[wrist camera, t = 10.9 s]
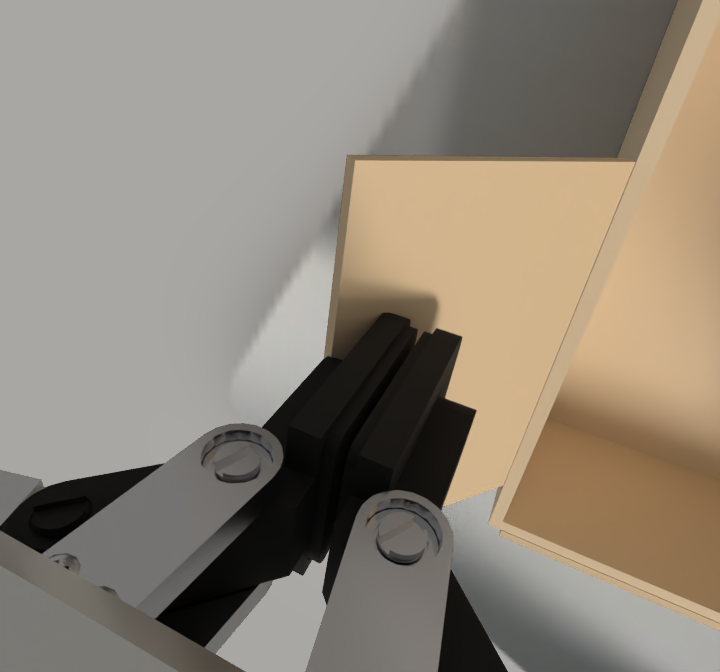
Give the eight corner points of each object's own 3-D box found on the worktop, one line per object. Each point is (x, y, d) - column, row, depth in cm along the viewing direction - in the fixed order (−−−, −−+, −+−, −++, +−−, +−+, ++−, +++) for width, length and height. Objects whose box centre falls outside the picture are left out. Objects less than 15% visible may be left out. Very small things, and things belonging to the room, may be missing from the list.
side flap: (503, 485, 16) (306, 554, 13) (497, 478, 16) (303, 545, 14) (635, 162, 11) (355, 160, 8) (623, 157, 11) (346, 155, 8)
